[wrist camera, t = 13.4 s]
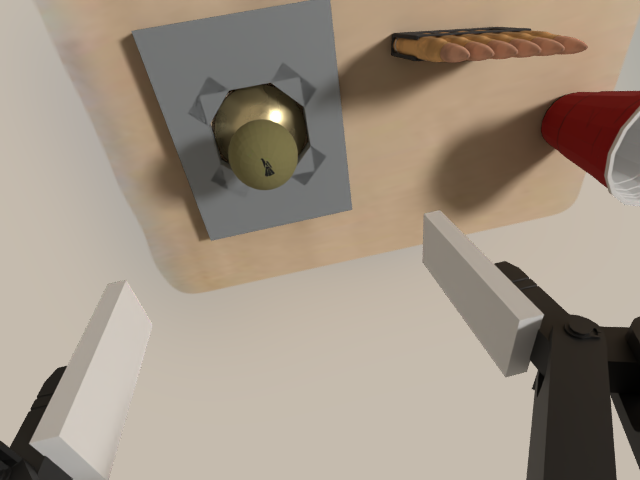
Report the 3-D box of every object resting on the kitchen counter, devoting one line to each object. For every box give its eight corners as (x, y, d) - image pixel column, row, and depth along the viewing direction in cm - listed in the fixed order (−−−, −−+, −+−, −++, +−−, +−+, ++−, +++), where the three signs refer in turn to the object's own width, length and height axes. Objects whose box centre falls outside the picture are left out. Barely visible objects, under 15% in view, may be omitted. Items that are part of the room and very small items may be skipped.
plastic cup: (626, 61, 38) (761, 77, 28) (588, 158, 44) (689, 199, 34) (535, 67, 37) (645, 87, 27) (509, 166, 43) (591, 212, 33)
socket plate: (136, 30, 29) (131, 31, 28) (326, -3, 30) (329, -4, 29) (211, 233, 40) (210, 240, 39) (348, 203, 41) (352, 209, 40)
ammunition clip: (390, 55, 34) (453, 72, 24) (391, 33, 33) (457, 40, 23) (493, 48, 35) (593, 61, 25) (498, 26, 34) (604, 31, 24)
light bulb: (299, 132, 36) (317, 167, 27) (260, 170, 37) (266, 215, 29) (258, 88, 33) (264, 113, 24) (218, 131, 34) (210, 168, 26)
